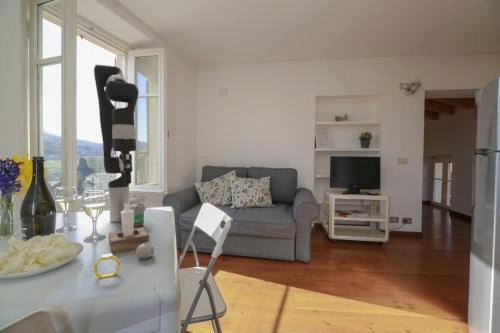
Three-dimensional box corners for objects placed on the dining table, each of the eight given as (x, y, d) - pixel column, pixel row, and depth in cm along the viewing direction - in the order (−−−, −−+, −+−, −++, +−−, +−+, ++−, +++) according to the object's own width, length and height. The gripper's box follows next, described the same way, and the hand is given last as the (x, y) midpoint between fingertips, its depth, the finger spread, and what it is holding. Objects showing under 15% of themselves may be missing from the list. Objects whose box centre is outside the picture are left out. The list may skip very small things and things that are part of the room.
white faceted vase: (126, 247, 87) (124, 206, 86) (119, 245, 89) (117, 205, 89) (138, 243, 91) (136, 203, 90) (131, 241, 93) (129, 202, 92)
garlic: (159, 255, 79) (158, 240, 79) (145, 262, 75) (144, 246, 74) (146, 252, 82) (145, 237, 82) (132, 259, 77) (131, 243, 77)
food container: (134, 232, 103) (133, 209, 103) (122, 232, 105) (121, 209, 104) (151, 224, 115) (151, 203, 115) (140, 224, 117) (139, 203, 116)
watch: (120, 273, 69) (120, 252, 69) (118, 277, 66) (119, 256, 66) (95, 275, 67) (96, 254, 66) (93, 280, 64) (93, 258, 64)
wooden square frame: (109, 243, 92) (108, 232, 92) (143, 236, 98) (142, 226, 98) (111, 253, 82) (111, 242, 82) (149, 245, 88) (148, 234, 88)
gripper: (111, 139, 92) (113, 181, 93) (114, 136, 80) (116, 185, 81) (132, 139, 96) (134, 180, 97) (138, 137, 84) (140, 183, 85)
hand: (126, 182), depth 89 cm, fingers open, 8 cm apart
